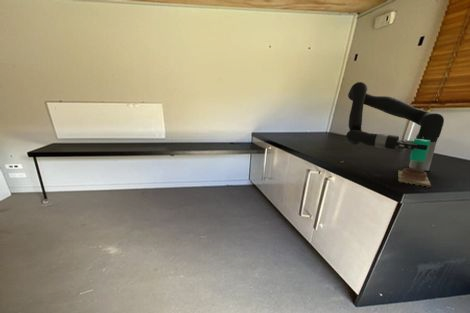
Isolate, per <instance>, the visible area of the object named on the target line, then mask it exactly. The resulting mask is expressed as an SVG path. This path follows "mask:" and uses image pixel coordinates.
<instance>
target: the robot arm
mask: <svg viewBox="0 0 470 313" xmlns="http://www.w3.org/2000/svg"><path fill="white" fill-rule="evenodd" d="M367 91H368V86H367V84H366V83H364V82H362V81H357V82H356V83H354V84H353V85H352V86H351V88H350V89H349V91H348V93H347V97H348V99H349V100H351V101H352V103H351V107H350V108H351V109H350V112H349V117H348V128H349V131H348V132H346V135H345V137H346V139H347V141H348V142H349V143H350V144H352V145H354V146H355V145H359V144H360V143H362V144H364V145H366V146H371V147H376V148H381V149H387V150H393V151H395V150H396V149H397V147H398V148H400V149H406V150H407V149H408V150H412V149H416V148H417V149H422V150H427V147H428V146H427V145H419V144H418V145H417V144H414V140H410V139H409V140H408V139H401V140H400V137H399V135H393V134H386V133H385V134H382V133H373V132H372V133H369V132H366V131H362V130H363V129H362V124H363V112H364V111H363V110H364V105H365V106H367V107H370V108H373V109H376V110H377V111H378V110H379V111H381V112H382V113H383V112H384V113H386V114H388V115H391V116H394V117H397V118H401V119H405V120H407V121H410V122H413V123H414V124H417V125H419V127H420V128H419V131H418V133H417V134H416V137H415V139H425V140H430V145H429V148H428V152H427V155H426V159H425V161H424V162H420V161H414V160H410V159H409V160H410V161H409V165H408V168H409V169H417V170H421V171H424V172H426V171H429V170H430V167H431V165H432V164H431V163H432V160H433V156H434V153H435V150H436V144H437V142H438V139H439V138H440V135H441V133H442V130H443V127H444V124H445V123H444V122H445V118H444V116H443V115H441V114H440V113H437V112H430V111H425V110H422V109H419V108H416V107H414V106H412V105H411V104H409V103H407V102H406V101H403V100H401V99H398V98H395V97H393V96H387V95H386V96H385V95H384V96H383V95H382V96H381V95H380V96H379V95H378V96H377V95H376V96H375V95H371V94H369V93H368V92H367Z"/></svg>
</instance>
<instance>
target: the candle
mask: <svg viewBox="0 0 470 313" xmlns="http://www.w3.org/2000/svg"><path fill="white" fill-rule="evenodd" d="M413 141H414V144H417V145H418V144H419V145H427V146H428V147H427V150H422V149H417V148H416V149H411V151H410V155H409V160H414V161H420V162H424V161H425V159H426V155H427V152H428V148H429V145H430V140H425V139H416V138H414V139H413Z"/></svg>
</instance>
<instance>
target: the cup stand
mask: <svg viewBox="0 0 470 313" xmlns="http://www.w3.org/2000/svg"><path fill="white" fill-rule="evenodd" d="M397 179H398V180H397V181H399V183H403V182H404V183H405V184H408V183H409V184H410V185H413V184H415V185H414V186H419V185H421V186H420V187H424V186H426V187H425V188H429V187H430V188H432V185H431V181H430V180H429V177H428V174H427V172H426V171H422V170H417V169H412V168H409V167H407V168H403V169H402V170H400V169H399V170H398V171H397ZM409 184H408V185H409Z"/></svg>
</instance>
